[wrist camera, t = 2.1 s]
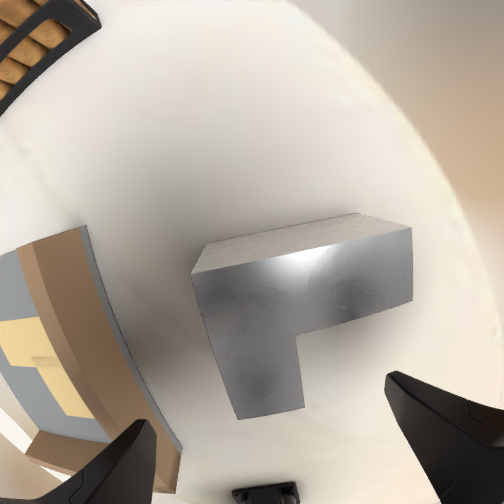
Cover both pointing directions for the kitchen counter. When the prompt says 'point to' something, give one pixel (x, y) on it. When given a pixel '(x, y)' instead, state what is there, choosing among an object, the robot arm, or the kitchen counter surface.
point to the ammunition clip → (38, 39)
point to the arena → (72, 358)
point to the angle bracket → (294, 298)
